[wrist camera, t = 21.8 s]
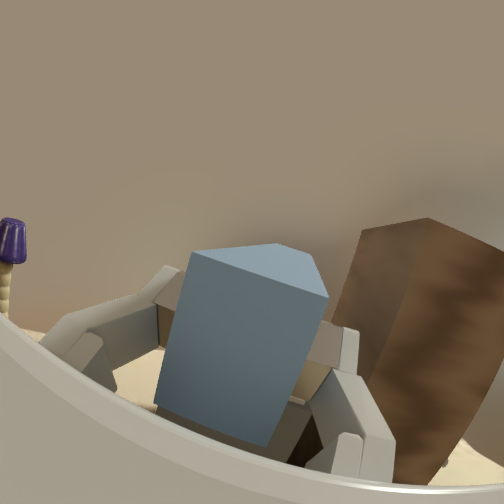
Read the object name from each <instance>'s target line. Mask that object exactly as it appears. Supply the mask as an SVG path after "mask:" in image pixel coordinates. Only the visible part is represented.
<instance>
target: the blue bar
mask: <svg viewBox="0 0 504 504" xmlns="http://www.w3.org/2000/svg"><path fill="white" fill-rule="evenodd" d="M328 301H329V296H328V294H327V291H326V289H325V286H324V284H323V282H322V280H321V277H320V275H319V272H318V270H317V268H316V265H315V263H314V261H313V258H312V256H311V255H310V254H307V253H304V252H301V251H298V250H295V249H292V248H289V247H286V246H283V245H280V244H266V245H256V246H245V247H234V248H224V249H213V250H203V251H193V252H192V253H191V257H190V260H189V263H188V267H187V271H186V274H185V277H184V281H183V285H182V288H181V292H180V296H179V299H178V303H177V307H176V311H175V314H174V318H173V322H172V326H171V330H170V334H169V338H168V342H167V346H166V350H165V354H164V358H163V362H162V367H161V371H160V375H159V380H158V384H157V389H156V393H155V398H154V402H153V403H154V404H156V405H158V406H160V407H163V408H165V409H167V410H169V411H171V412H173V413H176V414H178V415H180V416H182V417H185V418H187V419H189V420H192V421H194V422H196V423H199V424H201V425H204V426H206V427H209V428H211V429H214V430H216V431H219V432H221V433H224V434H227V435H230V436H232V437H235V438H238V439H241V440H244V441H247V442H250V443H253V444H256V445H259V446H262V447H265V448H266V447H267V445H268V443H269V441H270V439H271V437H272V435H273V433H274V431H275V428H276V426H277V424H278V422H279V420H280V418H281V416H282V413H283V411H284V409H285V407H286V405H287V402H288V400H289V398H290V396H291V394H292V391H293V389H294V387H295V384H296V382H297V380H298V377H299V375H300V373H301V370H302V368H303V366H304V363H305V361H306V358H307V356H308V353H309V351H310V348H311V346H312V343H313V341H314V338H315V336H316V333H317V331H318V328H319V325H320V323H321V320H322V317H323V315H324V312H325V309H326V306H327V304H328Z"/></svg>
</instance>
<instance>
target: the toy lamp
mask: <svg viewBox="0 0 504 504" xmlns="http://www.w3.org/2000/svg"><path fill="white" fill-rule="evenodd" d="M26 256H27V255H26V228H25V224H24V222H22V221H20V220H17V219H13V218H3V219H2V220H1V222H0V312H1V313H2V314H3V315H4V316H5V317H7V318H8V313H7V310H8V308H9V301H8V297H9V294H10V288H9V284H10V282H11V273H10V272H11V271H12V268H13V264H21V263H24V262H25V261H26Z"/></svg>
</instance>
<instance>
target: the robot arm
mask: <svg viewBox="0 0 504 504" xmlns="http://www.w3.org/2000/svg"><path fill="white" fill-rule="evenodd" d="M185 274H186V272H184V271H180V270H178V269H175V268H173V267H170V266H168V265H166V266H163V267H162V268H161V269H160V270H159V271H158V272H157V273H156V275H155V276H154V277H153V278H152V279H151V280H150V281H149V282H148V283H147V284H146V286H144V288H143V289H142V290H141V291H140V292H139V293H138V294H137V295H134V294H130V295H127V296H124V297H121V298H117V299H114V300H111V301H108V302H105V303H102V304H98V305H95V306H92V307H89V308H86V309H82V310H79V311H76V312H73V313H70V314H66V315H64V316H63V317H62V318H61V319H60V320H59V321H58V323H57V324H56V325H54V327H53V328H52V329H51V330H50V331H49V332H48V333H47V334H46V335H45V336H44V337H43V338H42V339H41V340H40V341H39V342H36V341H35V340H34V339H32V338H31V337H30V336H29V335H27V334H26V333H25V332H24V331H22V330H21V329H20V328H19V327H17V326H16V325H15V324H14V323H12V322H11V321H10V320H9V319H8V318H7V317H5V316H4V315H3V314H2V313H1V312H0V504H504V483H499V484H488V485H471V486H426V485H408V484H396V483H392V479H393V470H394V459H395V447H396V440H395V439H394V437H393V435H392V433H391V431H390V429H389V427H388V425H387V423H386V421H385V420H384V418H383V416H382V414H381V412H380V410H379V408H378V406H377V405H376V403H375V401H374V399H373V397H372V395H371V393H370V392H369V390H368V388H367V386H366V384H365V382H364V381H363V379H362V377H361V376H358V375H357V364H358V351H359V336H360V334H359V331H356V330H353V329H350V328H346V327H342V326H339V325H336V324H332V323H329V322H326V321H323V320H321V323H320V325H319V328H318V331H317V333H316V336H315V338H314V341H313V343H312V346H311V348H310V351H309V353H308V356H307V358H306V361H305V363H304V366H303V368H302V370H301V373H300V375H299V377H298V380H297V382H296V384H295V387H294V389H293V391H292V394H291V396H294V397H297V398H300V399H303V400H306V401H309V404H310V407H311V410H312V414H313V417H314V420H315V423H316V426H317V429H318V432H319V436H320V439H321V442H322V445H323V448H324V449H323V450H321V451H320V452H319V453H318V454H317V455H315V456H314V457H313V458H312V459H310V460H309V461H308V462H307V463H306V465H305V468H302V467H298V466H294V465H290V464H286V463H282V462H279V461H275V460H272V459H268V458H265V457H262V456H259V455H255V454H252V453H249V452H246V451H243V450H240V449H237V448H235V447H232V446H229V445H226V444H223V443H221V442H218V441H215V440H213V439H210V438H208V437H205V436H203V435H200V434H198V433H195V432H193V431H191V430H188V429H186V428H184V427H181V426H179V425H177V424H175V423H173V422H170V421H168V420H166V419H164V418H162V417H160V416H158V415H156V414H154V413H152V412H150V411H148V410H146V409H144V408H142V407H140V406H138V405H136V404H134V403H132V402H130V401H128V400H126V399H125V398H123V397H121V396H119V395H117V394H116V393H115V392H116V390H117V385H116V382H115V379H114V376H113V373H112V371H113V370H115V369H117V368H119V367H121V366H123V365H125V364H127V363H129V362H131V361H133V360H135V359H137V358H139V357H141V356H143V355H144V354H146V353H148V352H150V351H152V350H154V349H156V348H158V347H159V346H161V347H163V348H166V346H167V342H168V338H169V334H170V330H171V326H172V322H173V318H174V314H175V311H176V307H177V303H178V299H179V296H180V292H181V288H182V285H183V281H184V277H185Z"/></svg>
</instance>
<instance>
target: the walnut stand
mask: <svg viewBox="0 0 504 504" xmlns="http://www.w3.org/2000/svg"><path fill="white" fill-rule="evenodd" d="M331 323H332V324H336V325H339V326H342V327H346V328H350V329H353V330H356V331H359V334H360V336H359V351H358V364H357V375H358V376H361V377H362V379H363V381H364V382H365V384H366V386H367V388H368V390H369V392H370V393H371V395H372V397H373V399H374V401H375V403H376V405H377V406H378V408H379V410H380V412H381V414H382V416H383V418H384V420H385V421H386V423H387V425H388V427H389V429H390V431H391V433H392V435H393V437H394V439H395V440H396V447H395V459H394V470H393V479H392V483H396V484H408V485H426V486H427V485H428V483H429V482H430V481H431V480H432V478H433V477H434V476H435V474H436V473H437V472H438V470H439V469H440V468H441V466H442V465H443V464H444V462H445V461H446V460H447V458H448V457H449V455H450V454H451V452H452V451H453V449H454V448H455V447H456V445H457V444H458V442H459V440H460V439H461V437H462V436H463V434H464V432H465V431H466V429H467V428H468V426H469V425H470V423H471V421H472V420H473V418H474V416H475V414H476V413H477V411H478V409H479V407H480V405H481V404H482V402H483V400H484V398H485V396H486V394H487V392H488V390H489V388H490V386H491V384H492V382H493V380H494V378H495V376H496V374H497V372H498V370H499V368H500V365H501V363H502V361H503V358H504V252H503V251H501V250H499V249H497V248H495V247H493V246H491V245H488V244H486V243H484V242H482V241H480V240H478V239H476V238H473V237H471V236H469V235H467V234H465V233H463V232H460V231H458V230H456V229H454V228H451V227H449V226H447V225H444V224H442V223H440V222H437V221H435V220H432V219H430V218H423V219H418V220H413V221H407V222H402V223H397V224H391V225H386V226H381V227H376V228H370V229H365V230H362V232H361V236H360V239H359V242H358V245H357V249H356V252H355V255H354V258H353V261H352V264H351V267H350V270H349V273H348V276H347V279H346V282H345V285H344V287H343V290H342V293H341V296H340V299H339V301H338V304H337V307H336V310H335V312H334V315H333V318H332V320H331ZM323 449H324V448H323V445H322V442H321V439H320V436H319V432H318V429H317V426H316V423H315V420H314V417H313V414H312V415H311V417H310V419H309V421H308V423H307V425H306V427H305V429H304V431H303V432H302V434H301V436H300V438H299V440H298V442H297V444H296V446H295V447H294V449H293V451H292V453H291V455H290V456H289V458H288V460H287V462H286V464H290V465H294V466H298V467H302V468H305V465H306V463H307V462H308V461H309V460H310V459H312V458H313V457H314V456H315V455H317V454H318V453H319V452H320V451H321V450H323Z"/></svg>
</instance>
